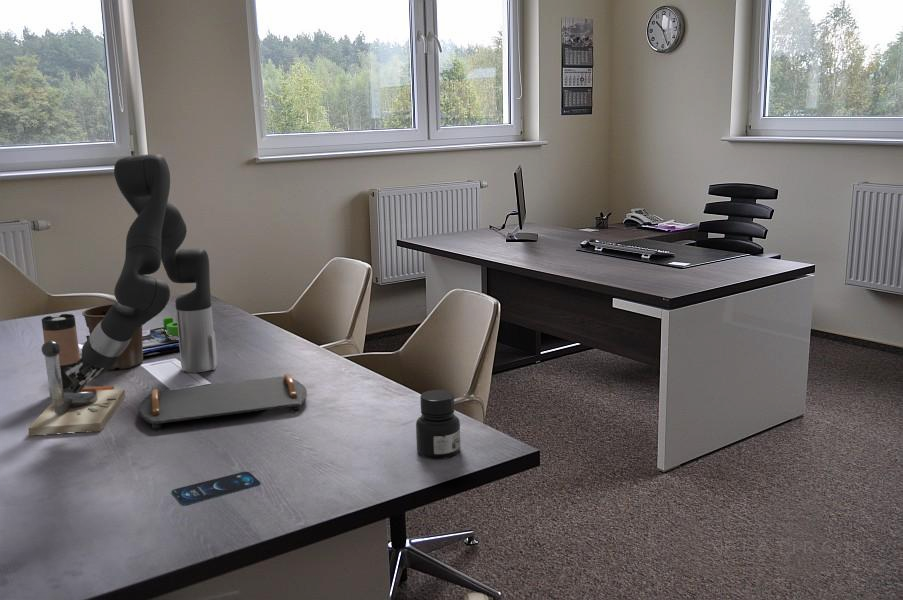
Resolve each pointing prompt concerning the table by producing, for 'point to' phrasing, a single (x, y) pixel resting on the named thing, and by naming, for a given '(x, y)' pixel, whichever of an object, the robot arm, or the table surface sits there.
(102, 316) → the plant pot
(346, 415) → the table surface
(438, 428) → the ink bottle
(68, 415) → the flat beige board
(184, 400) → the serving board
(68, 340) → the travel mug
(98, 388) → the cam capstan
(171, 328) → the tape dispenser
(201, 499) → the smartphone
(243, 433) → the table surface
